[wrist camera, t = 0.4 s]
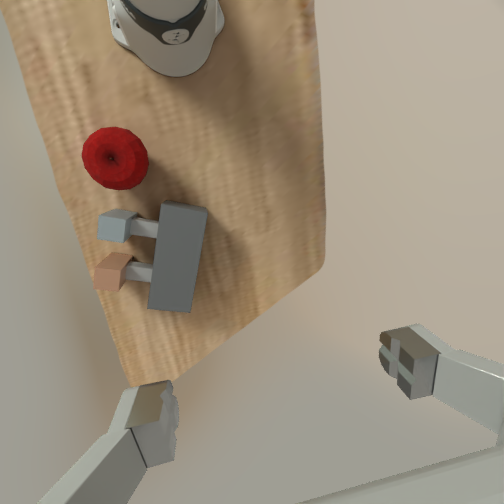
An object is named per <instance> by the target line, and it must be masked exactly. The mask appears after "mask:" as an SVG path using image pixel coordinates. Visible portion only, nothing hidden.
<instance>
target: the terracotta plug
mask: <svg viewBox="0 0 504 504" xmlns="http://www.w3.org/2000/svg"><path fill="white" fill-rule="evenodd" d="M132 258H133V255H126V254H118V253H111V254H109V255H108V256H107V257H106V258H105V259H104V260H103V261H102V262H100V263H99V264H98V265H97V266H96V267H95V273H94V287H93V288H94V289H98V290H107V291H117V292H119V290H120V289H121V287H122V286H123V284H124V283H125V281H126V280H135V281H144V282H151V277H152V270H153V264H148V263H141V262H133V261H132Z"/></svg>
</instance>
